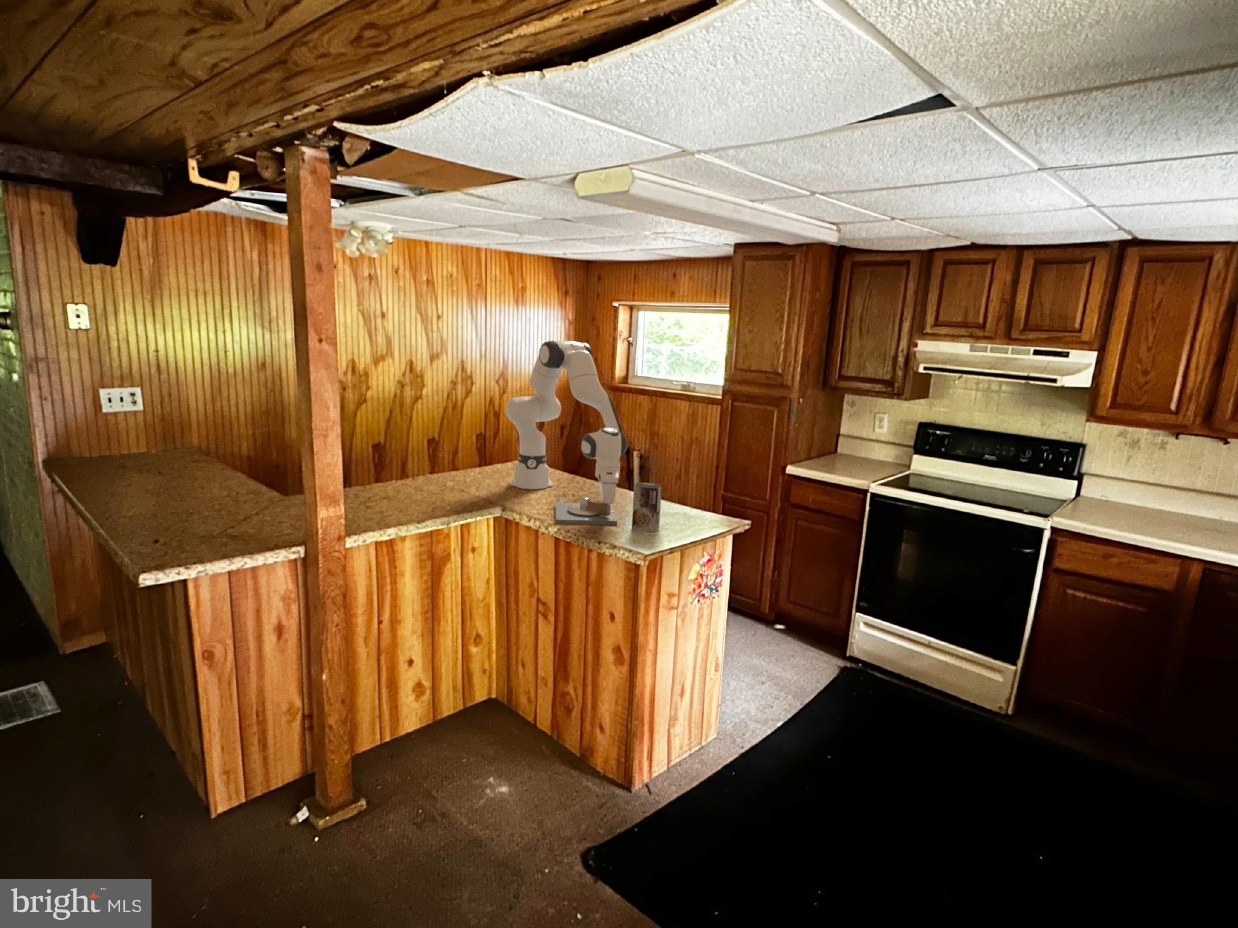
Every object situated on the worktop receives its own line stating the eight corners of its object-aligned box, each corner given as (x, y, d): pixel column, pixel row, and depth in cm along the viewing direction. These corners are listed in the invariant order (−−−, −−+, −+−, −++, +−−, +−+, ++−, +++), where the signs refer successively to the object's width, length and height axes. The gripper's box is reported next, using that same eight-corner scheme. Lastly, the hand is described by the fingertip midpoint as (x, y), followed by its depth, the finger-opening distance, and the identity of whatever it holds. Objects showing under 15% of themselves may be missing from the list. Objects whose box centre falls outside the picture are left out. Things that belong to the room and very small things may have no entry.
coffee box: (659, 527, 237) (662, 484, 234) (655, 532, 231) (659, 488, 228) (635, 524, 239) (638, 481, 236) (630, 529, 233) (633, 485, 230)
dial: (560, 510, 244) (561, 497, 243) (582, 503, 255) (583, 491, 254) (597, 520, 235) (598, 507, 233) (618, 513, 245) (619, 500, 244)
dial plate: (555, 506, 256) (555, 502, 255) (611, 507, 258) (611, 503, 258) (555, 523, 234) (556, 519, 234) (617, 525, 237) (617, 520, 236)
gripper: (596, 465, 250) (594, 499, 253) (601, 479, 230) (598, 516, 233) (613, 465, 250) (610, 500, 254) (619, 479, 231) (616, 517, 234)
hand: (605, 508), depth 243 cm, fingers closed
